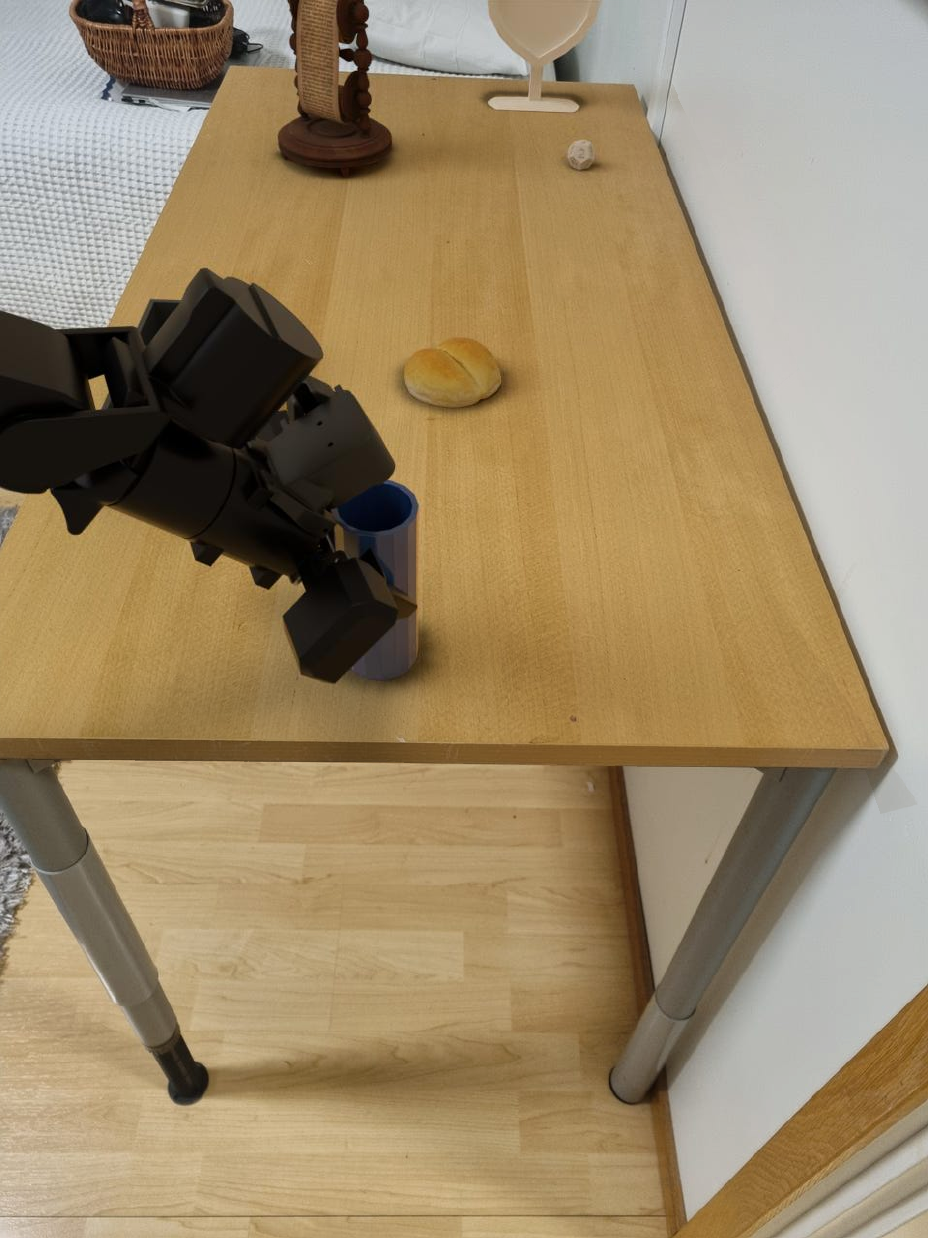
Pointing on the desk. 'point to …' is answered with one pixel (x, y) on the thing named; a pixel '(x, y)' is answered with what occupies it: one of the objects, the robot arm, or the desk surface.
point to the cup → (385, 566)
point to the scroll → (332, 89)
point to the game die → (581, 154)
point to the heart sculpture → (540, 42)
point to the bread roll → (452, 373)
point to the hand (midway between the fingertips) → (398, 581)
